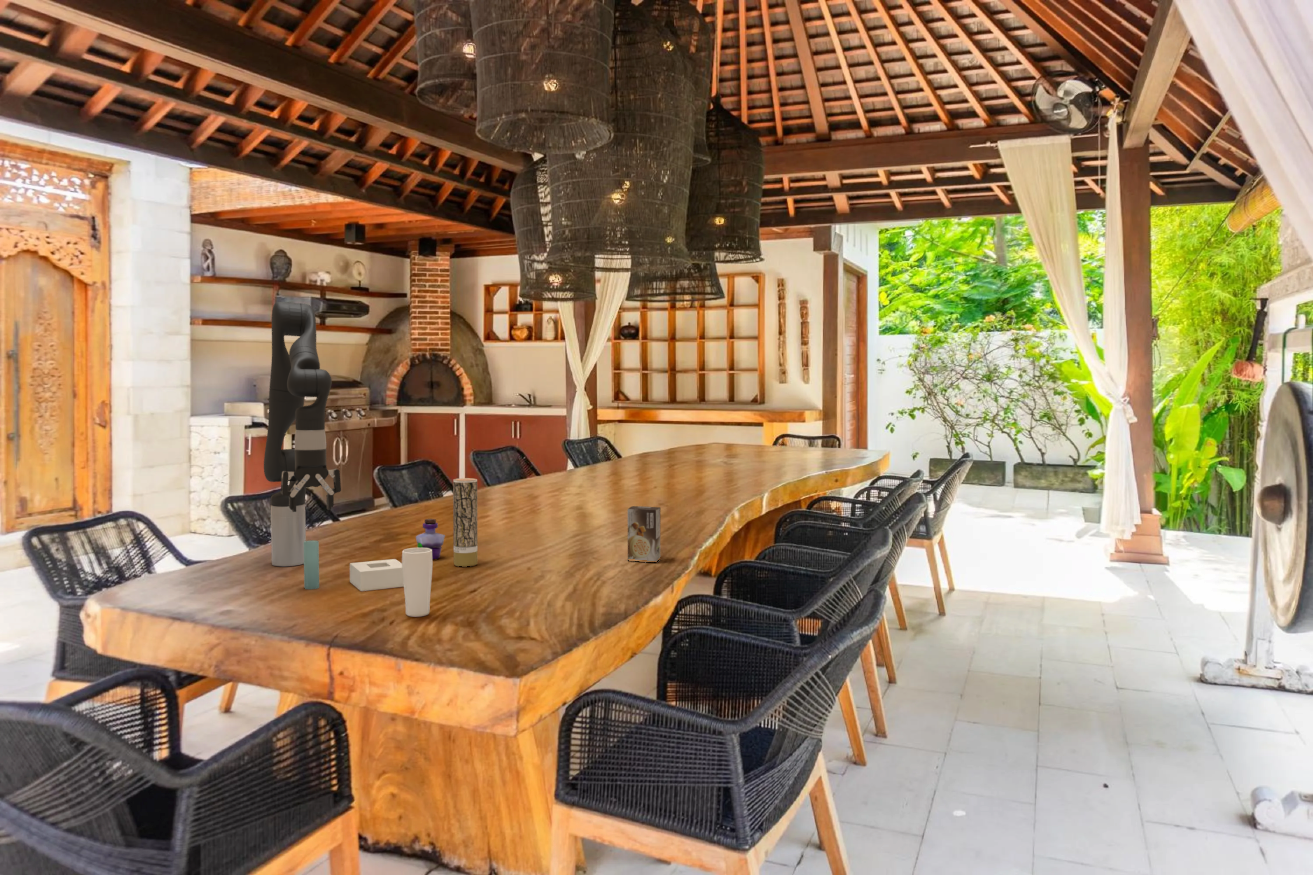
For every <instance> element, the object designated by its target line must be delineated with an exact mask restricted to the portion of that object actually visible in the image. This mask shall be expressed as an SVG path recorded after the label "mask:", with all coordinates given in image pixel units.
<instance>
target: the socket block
mask: <svg viewBox="0 0 1313 875" xmlns="http://www.w3.org/2000/svg"><path fill="white" fill-rule="evenodd" d="M349 583H351V585H353V586H354V587H355V588H357V589H358V590H359V591H360V592H365V591H366V592H368V591H374V590H376V591H377V590H385V589H393V588H404V583H403V573H402V561H401V562H400V561H399V560H397V559H396V558H391V559H381V560H371V561H369V560H368V561H360V562H350V563H349Z"/></svg>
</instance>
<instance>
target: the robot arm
mask: <svg viewBox="0 0 1313 875" xmlns="http://www.w3.org/2000/svg"><path fill="white" fill-rule="evenodd" d="M316 319H317V318H316V313H315V308H314V307H313V306H311V304H308V303H307V304H306V303H299V302H287V301H276V302H275V303H274V304H273V307H272V310H271V362H270V364H271V365H270V376H269V377H270V379H269V391H268V393H269V394H268V420H267V421H268V423H267V434H266V441H265V448H264V457H263V473H264V474H263V475H264V477H265V479H266V481H268V482H271V483H278V482H279V483H280V482H281V483H280V491H278V492H276V493H273V494H272V495H271V497H270V528H271V529H270V534H271V536H270V537H271V538H270V539H271V540H270V541H271V542H270V543H271V544H270V546H271V565H272V566H275V567H293V566H295V567H296V566H299V565H300V566H301V565H304V541H307V539H306V538H307V537H306V531H307V530H306V493H307V488H310V487H311V488H312V487H314V488H318V487H321V488H322V489H323V490H324V491H325V492H326V509H327V511H329V510H332V508H334V505H335V504H334V501H335V500H334V495H335V494H337V493H340V492H341V491H342V486H341V472H340V470H339V469H338V468H333V469H328V468H327V436H326V427H325V426H326V424H325V423H326V420H325V419H326V408H327V402H328V398H329V395H330V393H331V392H330V391H331V388H332V384H333V382H332V380H333V379H332V376H331V374H330V373H329V372H328V371H327V370H326V369H321V363H320V359H319V355H318V351H317V322H316ZM290 336H291V337H298V338H297V339H296V340H294V342H293V343H292V344H291V346H290V348H289V351H288V348H287V346H286V342H285V337H290ZM314 397H316V399H315V401H314V402H313V403H312V404H308V405H304V403H305V398H314ZM294 422H295V434H294V448H288V449H286V448H284V449H282V447H283V442H284V439H285V436H286V434H287V432H288V430H289V429H290V428H291V426H292V424H293V423H294ZM328 475H329V476H330V478H332V479H333V488H331V487H330V486H329V484H328V482H326V481H325V480H326V478H327V477H329V476H328Z"/></svg>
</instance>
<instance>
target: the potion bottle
mask: <svg viewBox="0 0 1313 875" xmlns="http://www.w3.org/2000/svg"><path fill="white" fill-rule="evenodd" d="M422 528H423V529H424V530H425V532H423V533H419V534H417V535H416V536H415V539H416V544H417V546H416V548H429V549H431V550H432V561H434V560H433V559H437V560H439V559H440V558H441V552H442V549H443V548H442V546H443V545H444V540H445V537H446V535H445V534H443V533H438V532H436V529H438V528H439V524H438V522H437V520H436V519H435V518H425V519H424V522H423V523H422ZM438 558H439V559H438Z"/></svg>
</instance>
